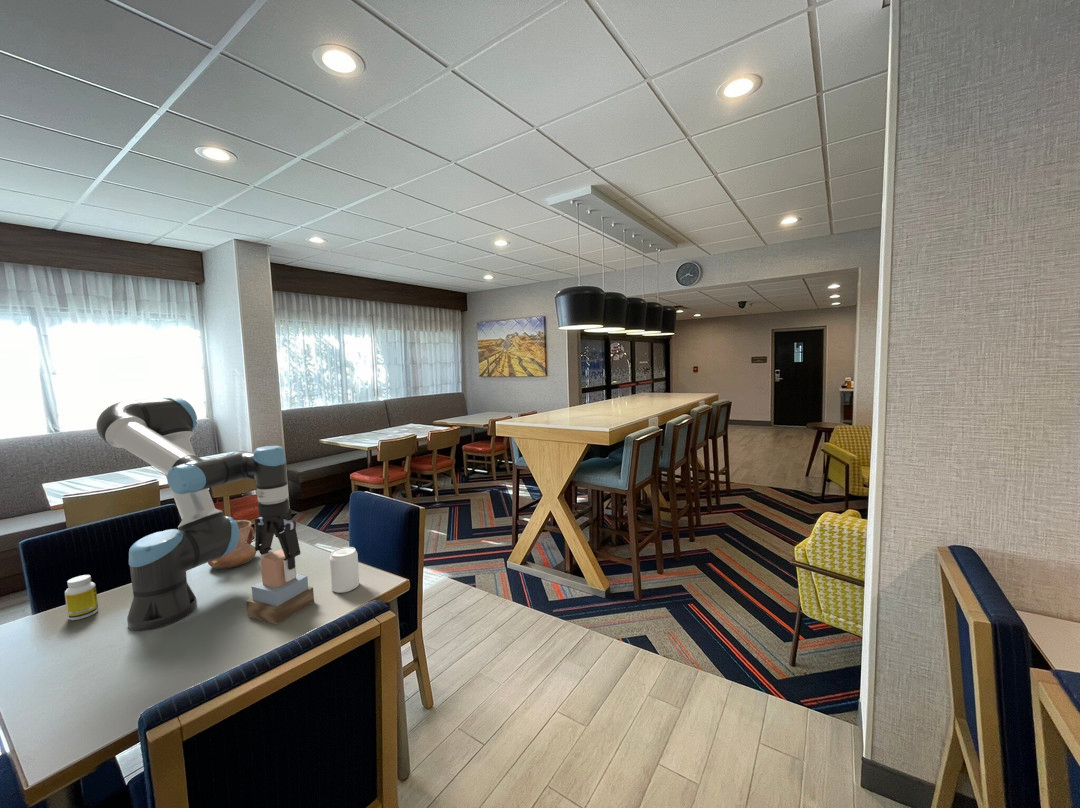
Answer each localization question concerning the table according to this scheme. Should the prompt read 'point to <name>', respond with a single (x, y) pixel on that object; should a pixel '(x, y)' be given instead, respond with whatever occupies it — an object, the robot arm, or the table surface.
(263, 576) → the terracotta block
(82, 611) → the pill bottle
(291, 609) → the walnut block
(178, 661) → the table surface
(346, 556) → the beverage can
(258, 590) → the slate block
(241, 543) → the ceramic jug
